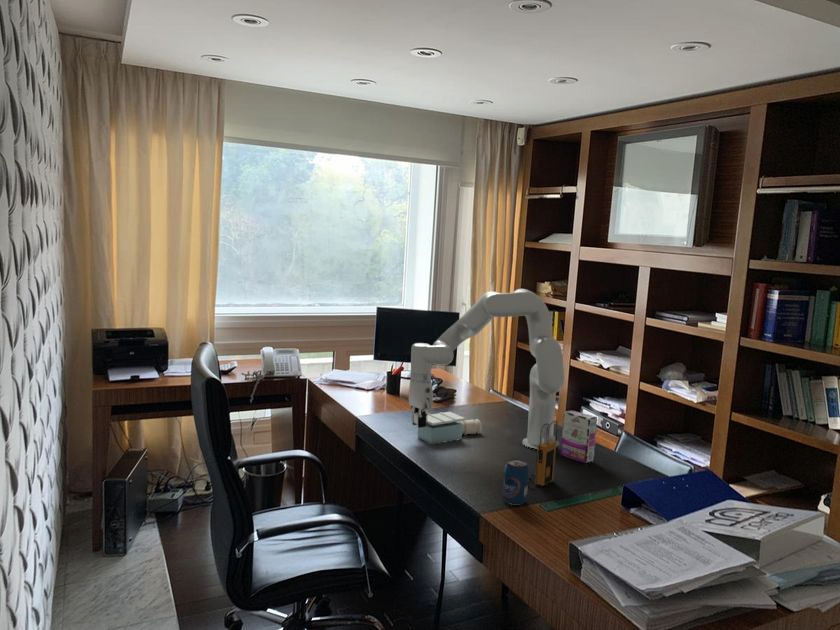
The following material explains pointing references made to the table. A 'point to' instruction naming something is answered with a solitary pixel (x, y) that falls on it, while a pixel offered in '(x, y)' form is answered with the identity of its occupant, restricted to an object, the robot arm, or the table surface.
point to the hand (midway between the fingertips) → (419, 425)
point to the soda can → (515, 481)
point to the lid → (439, 418)
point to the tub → (440, 432)
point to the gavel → (471, 426)
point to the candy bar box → (579, 436)
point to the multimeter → (545, 460)
